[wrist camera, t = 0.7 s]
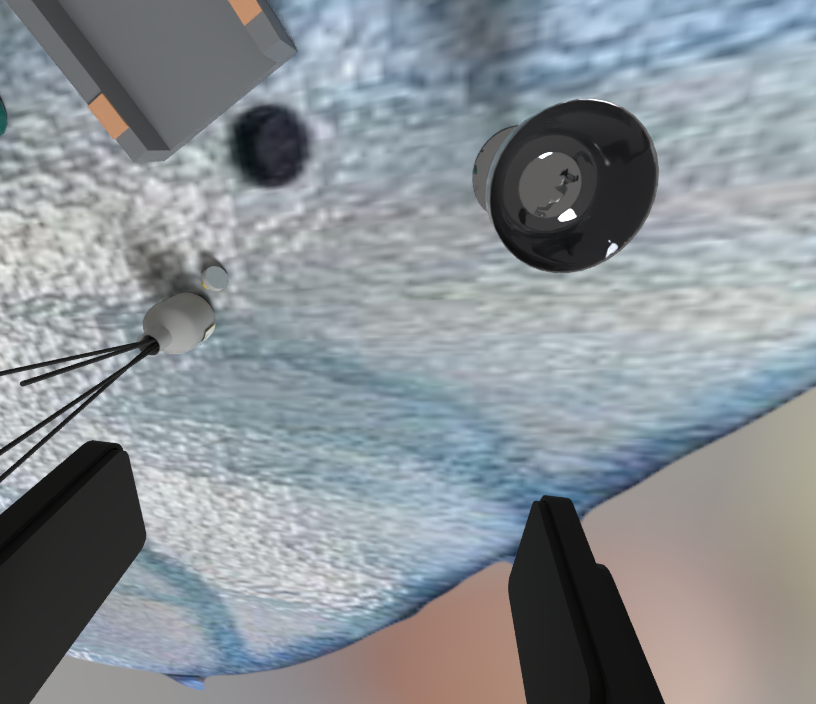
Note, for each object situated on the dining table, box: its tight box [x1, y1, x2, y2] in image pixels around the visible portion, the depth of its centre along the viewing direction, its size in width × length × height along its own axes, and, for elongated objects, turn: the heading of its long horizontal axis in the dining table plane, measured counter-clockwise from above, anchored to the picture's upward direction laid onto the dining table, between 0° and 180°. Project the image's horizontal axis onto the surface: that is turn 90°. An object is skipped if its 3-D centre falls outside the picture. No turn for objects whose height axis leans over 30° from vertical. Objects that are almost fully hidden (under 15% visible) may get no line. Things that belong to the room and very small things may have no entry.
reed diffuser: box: [0, 266, 229, 483], centre depth 31 cm, size 10×7×20 cm
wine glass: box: [473, 99, 659, 273], centre depth 27 cm, size 8×8×15 cm
